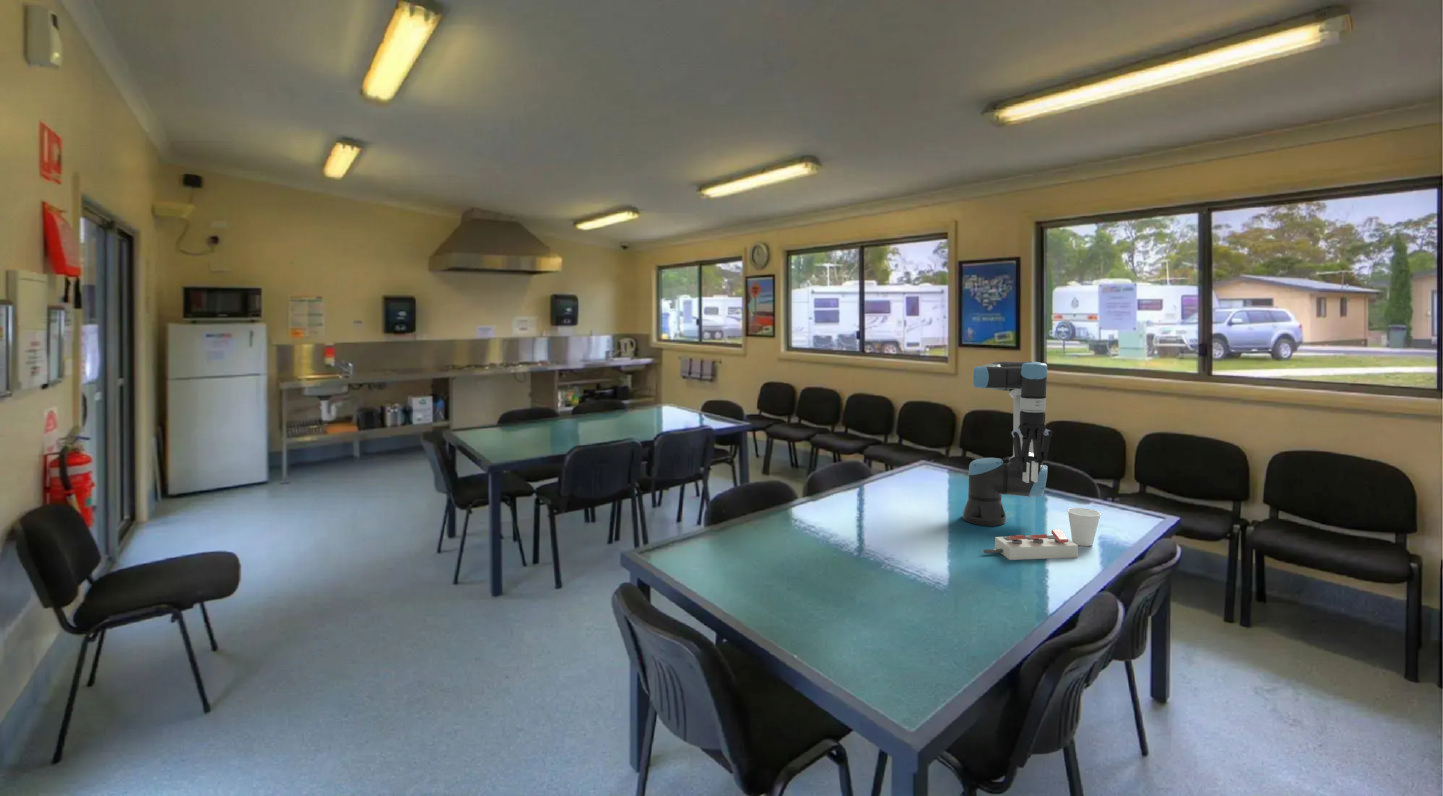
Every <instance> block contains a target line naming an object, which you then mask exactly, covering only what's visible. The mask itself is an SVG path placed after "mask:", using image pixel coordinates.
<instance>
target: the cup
mask: <svg viewBox="0 0 1443 796" xmlns="http://www.w3.org/2000/svg"><path fill="white" fill-rule="evenodd" d="M1066 511H1067V515H1068V521H1069V528H1070V533H1071V534H1070V535H1071V541H1072V542H1073V543H1075V544H1077V545H1078V546H1081V547H1090V546H1091V547H1092V545H1094V542H1095V537H1096V533H1097V528H1098V525H1099V521H1100V519H1101V518H1100V517H1101V516H1102V513H1101V512H1100V511H1098V510H1095V509H1093V508H1092V509H1091V508H1086V507H1069V508H1067V509H1066Z"/></svg>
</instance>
